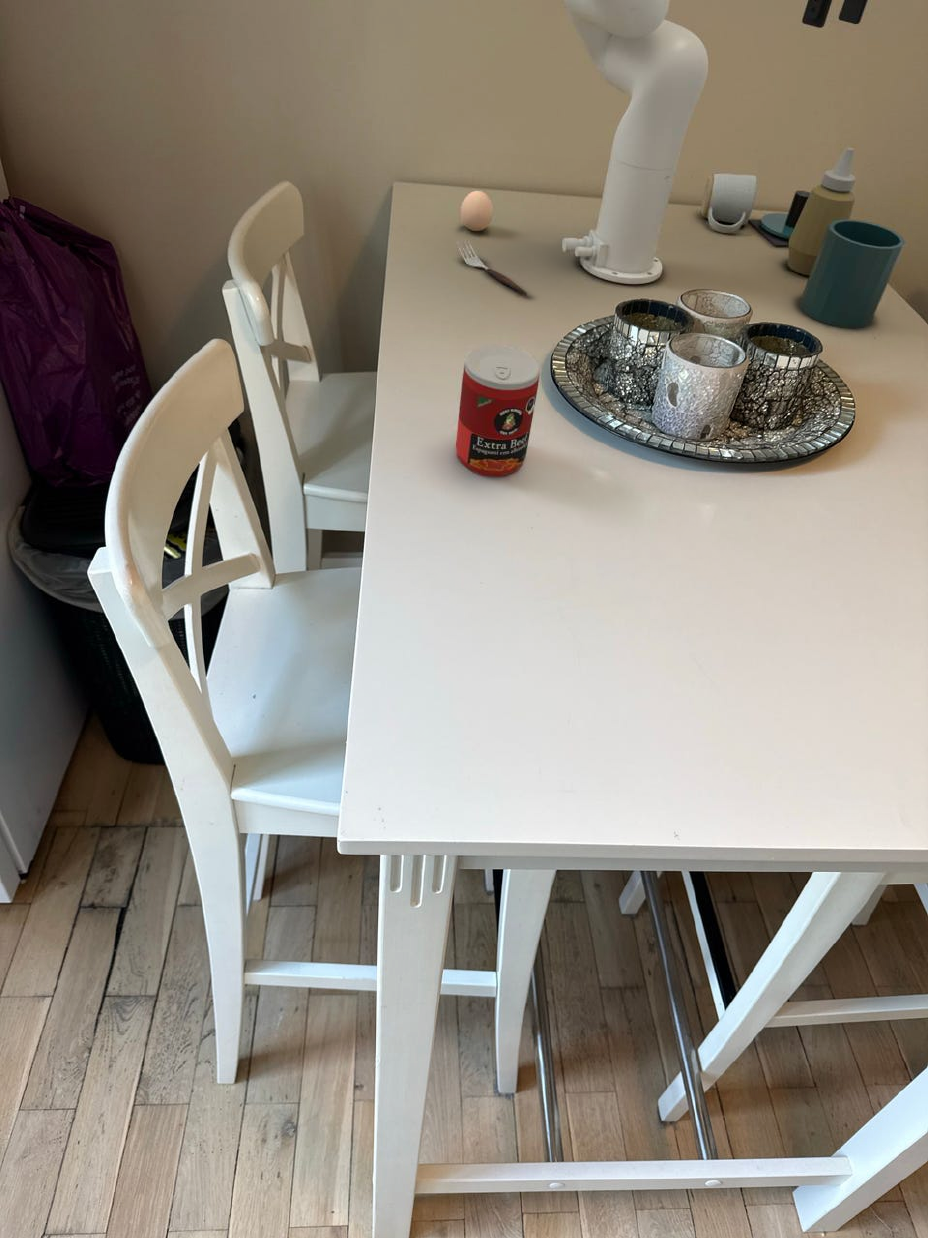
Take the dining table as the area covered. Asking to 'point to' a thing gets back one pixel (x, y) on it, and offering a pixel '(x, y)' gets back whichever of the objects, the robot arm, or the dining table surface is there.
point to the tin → (851, 273)
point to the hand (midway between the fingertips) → (830, 23)
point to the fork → (478, 263)
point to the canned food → (496, 409)
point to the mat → (769, 235)
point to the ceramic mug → (728, 200)
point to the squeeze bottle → (822, 214)
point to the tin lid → (785, 217)
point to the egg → (476, 211)
